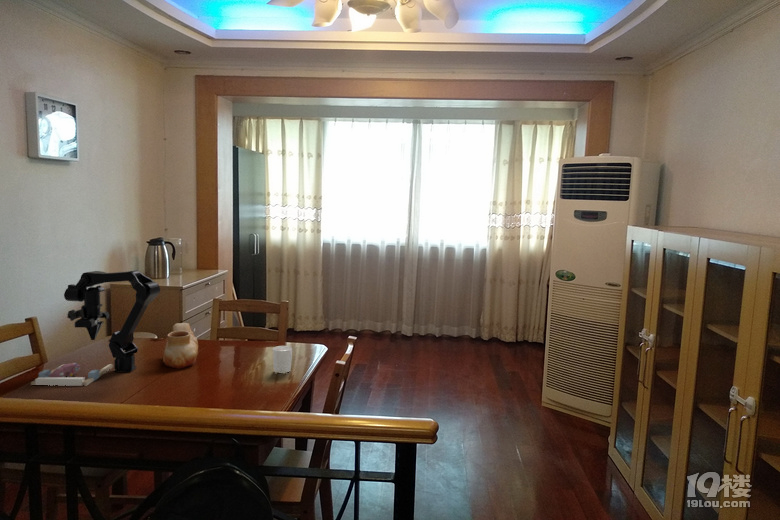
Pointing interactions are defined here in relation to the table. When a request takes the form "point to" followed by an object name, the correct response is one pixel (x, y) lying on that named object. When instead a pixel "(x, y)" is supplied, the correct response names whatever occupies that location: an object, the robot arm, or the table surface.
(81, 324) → the robot arm
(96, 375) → the guide channel
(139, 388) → the table surface
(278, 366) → the white cup
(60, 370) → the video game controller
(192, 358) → the ceramic vessel
